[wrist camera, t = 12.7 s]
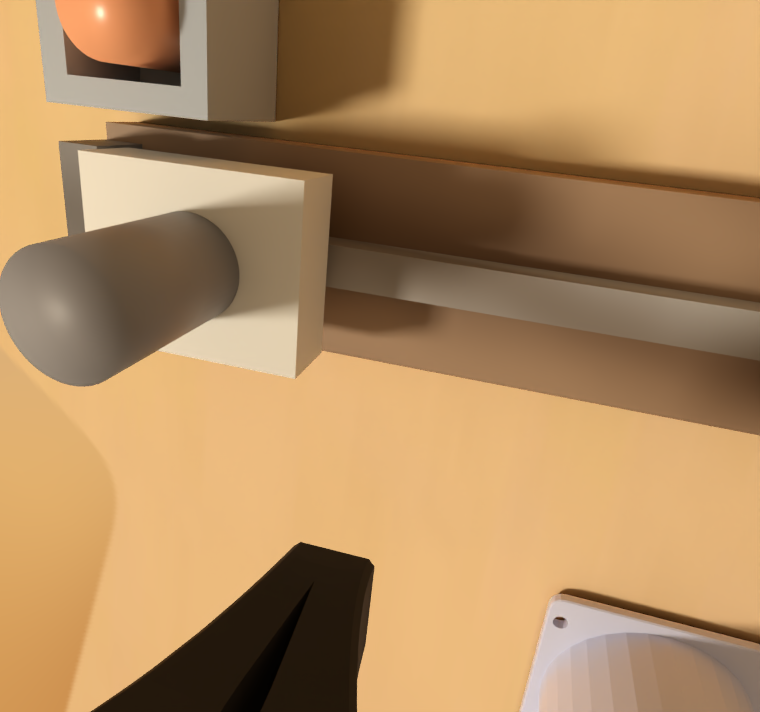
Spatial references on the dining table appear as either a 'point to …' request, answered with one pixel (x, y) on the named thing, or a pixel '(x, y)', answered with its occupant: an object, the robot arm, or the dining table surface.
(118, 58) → the orange cylindrical peg
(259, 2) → the box
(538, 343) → the rail board
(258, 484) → the dining table surface
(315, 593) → the robot arm
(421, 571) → the dining table surface
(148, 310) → the carriage
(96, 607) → the dining table surface
